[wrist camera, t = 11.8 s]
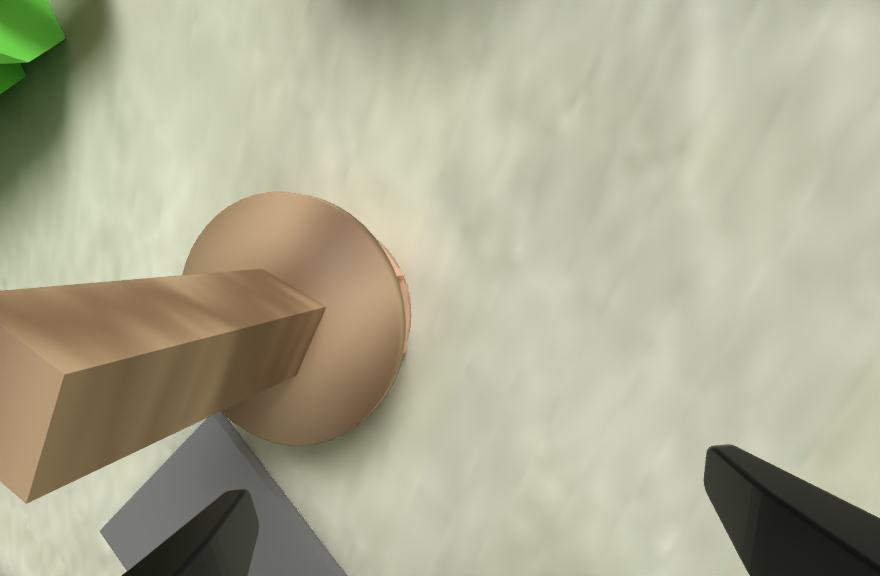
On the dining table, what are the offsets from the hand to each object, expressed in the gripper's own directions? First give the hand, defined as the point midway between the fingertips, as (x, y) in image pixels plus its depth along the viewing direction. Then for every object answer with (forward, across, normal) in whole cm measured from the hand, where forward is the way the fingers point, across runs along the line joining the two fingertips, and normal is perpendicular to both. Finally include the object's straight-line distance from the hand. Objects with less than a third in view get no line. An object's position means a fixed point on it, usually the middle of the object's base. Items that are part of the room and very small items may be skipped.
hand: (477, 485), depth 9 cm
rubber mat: (+13, +15, +16) cm, 26 cm away
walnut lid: (+12, +7, 0) cm, 14 cm away
